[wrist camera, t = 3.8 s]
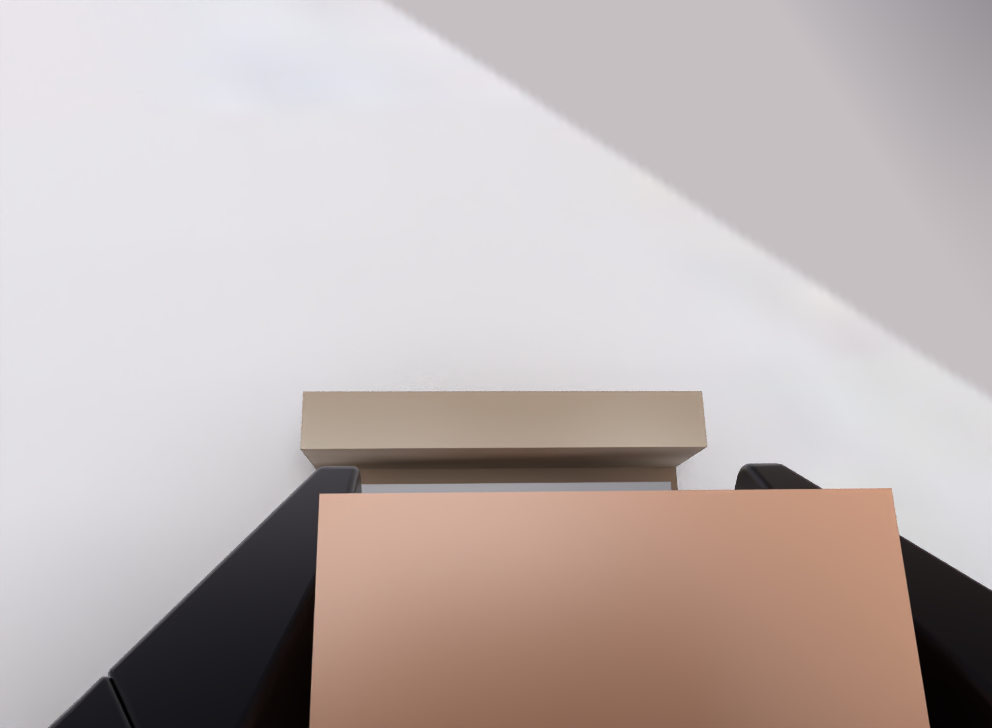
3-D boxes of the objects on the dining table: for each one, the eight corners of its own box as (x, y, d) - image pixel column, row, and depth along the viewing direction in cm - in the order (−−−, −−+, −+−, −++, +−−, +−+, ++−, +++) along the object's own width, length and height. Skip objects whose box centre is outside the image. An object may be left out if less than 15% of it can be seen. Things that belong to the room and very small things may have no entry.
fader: (678, 777, 14) (1150, 1078, 5) (330, 789, 14) (105, 1143, 4) (656, 490, 16) (985, 292, 6) (340, 493, 15) (186, 286, 6)
